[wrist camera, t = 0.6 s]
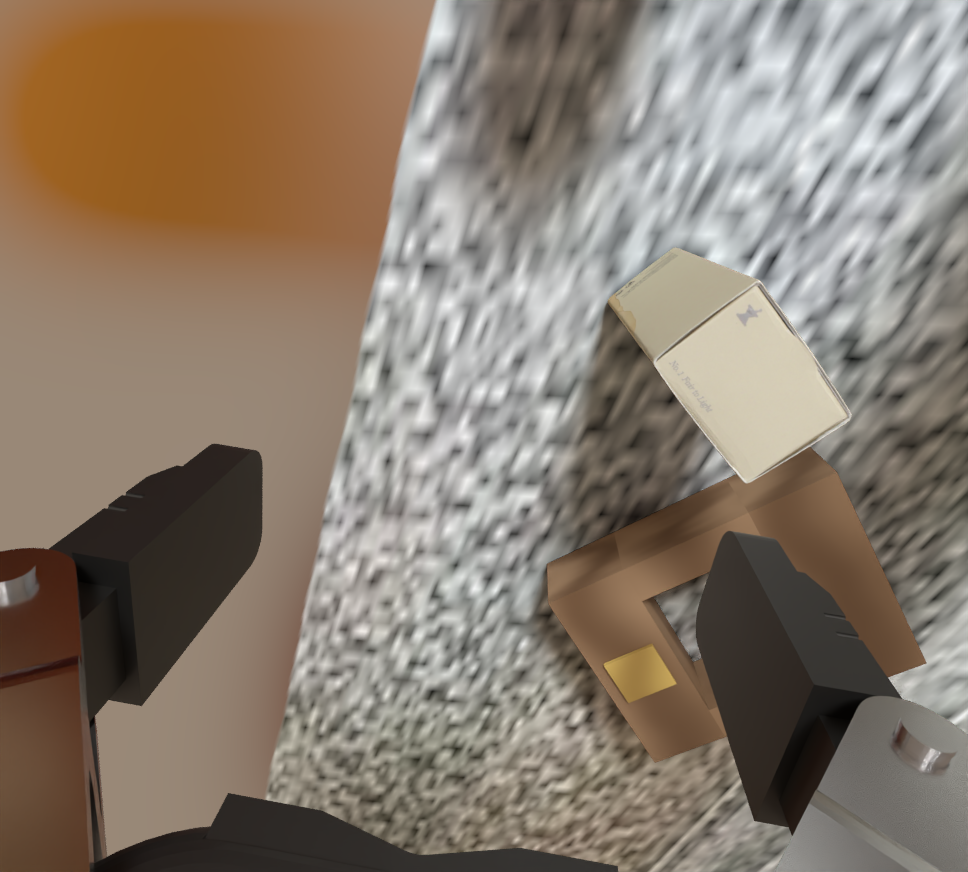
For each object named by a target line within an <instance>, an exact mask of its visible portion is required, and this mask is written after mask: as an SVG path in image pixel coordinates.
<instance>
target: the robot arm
mask: <svg viewBox="0 0 968 872" xmlns="http://www.w3.org/2000/svg"><path fill="white" fill-rule="evenodd" d="M261 536H262V459H261V455H260V453H259V452H258V451H256V450H250V449H244V448H238V447H232V446H226V445H220V444H211V445H210V446H208V447H207V448H206V449H204V450H203V451H202V452H200V453H199V454H198V455H197V456H195V457H194V458H193V459H191V460H190V461H189V462H188V463H186V464H185V465H184V466H174V467H172V468H169V469H166V470H164V471H161V472H158V473H156V474H153V475H150V476H148V477H146V478H145V479H144V480H142V481H141V482H139V483H138V484H137V485H135V486H134V487H132V488H131V489H130V490H128V491H127V492H126V495H125V496H123V495H122V496H120V497H119V498H117V499H116V500H115V501H113V502H112V503H111V504H109V507H108V509H105V508H104V509H102V510H101V511H100V512H98V513H97V514H96V515H94V516H93V517H92V518H90V519H89V520H87V521H86V522H85V523H83V524H82V525H81V526H79V527H78V528H77V529H75V530H74V531H72V532H71V533H70V534H68V535H67V536H66V537H64V538H63V539H61V540H60V541H59V542H57V543H56V544H55V545H53V546H52V547H51V548H49V549H44V548H20V549H11V550H6V551H0V872H618V866H614V865H608V864H603V863H598V862H592V861H587V860H582V859H576V858H571V857H566V856H560V855H555V854H550V853H544V852H539V851H534V850H528V849H523V848H514V849H500V850H487V851H473V852H460V853H447V854H433V855H417V854H412V853H409V852H407V851H404V850H402V849H400V848H398V847H396V846H394V845H392V844H390V843H388V842H386V841H384V840H382V839H380V838H377V837H375V836H373V835H371V834H369V833H367V832H365V831H363V830H361V829H359V828H357V827H355V826H353V825H351V824H349V823H346V822H344V821H342V820H340V819H338V818H336V817H334V816H332V815H330V814H328V813H326V812H324V811H321V810H315V809H310V808H305V807H299V806H294V805H289V804H283V803H278V802H273V801H267V800H262V799H257V798H251V797H246V796H241V795H235V794H230V793H228V795H227V797H226V798H225V800H224V803H223V804H222V806H221V808H220V810H219V812H218V814H217V816H216V818H215V819H214V821H213V823H212V825H211V827H199V828H193V829H188V830H183V831H177V832H172V833H169V834H165V835H162V836H158V837H155V838H152V839H148V840H145V841H143V842H140V843H138V844H135V845H133V846H130V847H128V848H125V849H123V850H120V851H118V852H116V853H114V854H112V855H110V856H108V857H107V850H106V849H107V848H106V837H105V825H104V812H103V799H102V787H101V775H100V763H99V762H100V761H99V750H98V737H97V726H96V719H95V715H96V714H97V713H98V712H99V710H100V709H101V708H102V707H103V706H104V704H105V703H106V702H107V701H108V700H112V701H117V702H123V703H128V704H134V705H140V706H142V705H143V704H144V702H145V701H146V700H147V699H148V697H149V696H150V695H151V693H152V692H153V691H154V689H155V688H156V687H157V686H158V684H159V683H160V682H161V680H162V679H163V678H164V677H165V675H166V674H167V673H168V671H169V670H170V669H171V667H172V666H173V665H174V664H175V663H176V661H177V660H178V659H179V657H180V656H181V655H182V654H183V652H184V651H185V650H186V648H187V647H188V646H189V644H190V643H191V642H192V641H193V639H194V638H195V637H196V635H197V634H198V633H199V632H200V630H201V629H202V628H203V626H204V625H205V624H206V623H207V621H208V620H209V619H210V617H211V616H212V615H213V614H214V612H215V611H216V610H217V608H218V607H219V606H220V605H221V603H222V602H223V601H224V599H225V598H226V597H227V596H228V594H229V593H230V592H231V590H232V589H233V588H234V587H235V585H236V584H237V583H238V581H239V580H240V579H241V578H242V576H243V575H244V574H245V572H246V571H247V570H248V569H249V567H250V566H251V564H252V563H253V561H254V559H255V557H256V555H257V552H258V549H259V546H260V542H261ZM858 637H859V635H858V633H857V632H856V631H855V629H854V628H853V626H852V625H851V623H850V622H849V621H846V616H845V614H844V613H843V611H842V610H841V609H840V607H839V606H838V604H837V603H836V601H835V600H834V598H833V597H832V595H831V594H830V593H829V592H827V591H826V590H825V589H824V588H823V587H821V586H820V585H819V584H818V583H817V582H815V581H814V580H813V579H812V578H810V577H809V576H808V575H807V574H806V573H803V572H797V570H796V569H795V567H794V566H793V564H792V563H791V561H790V559H789V558H788V556H787V555H786V553H785V552H784V550H783V548H782V547H781V545H780V544H779V542H778V541H777V540H776V539H775V538H770V537H764V536H758V535H752V534H746V533H740V532H734V531H727V532H726V533H725V534H724V535H723V536H722V538H721V540H720V543H719V545H718V548H717V552H716V555H715V558H714V561H713V564H712V567H711V570H710V573H709V576H708V579H707V582H706V585H705V588H704V591H703V594H702V598H701V601H700V604H699V607H698V612H697V618H696V638H697V644H698V647H699V650H700V653H701V656H702V659H703V663H704V666H705V669H706V672H707V675H708V678H709V681H710V684H711V687H712V691H713V694H714V697H715V700H716V703H717V706H718V709H719V712H720V715H721V719H722V722H723V725H724V728H725V731H726V734H727V737H728V740H729V743H730V747H731V750H732V753H733V756H734V759H735V762H736V765H737V768H738V771H739V775H740V778H741V781H742V784H743V787H744V790H745V793H746V796H747V799H748V803H749V806H750V809H751V812H752V815H753V818H754V821H757V822H763V823H768V824H774V825H779V826H784V827H789V829H790V831H791V834H792V838H791V840H790V842H789V844H788V846H787V848H786V850H785V852H784V854H783V856H782V858H781V860H780V862H779V864H778V866H777V868H776V870H775V872H968V735H967V734H966V733H965V732H964V731H962V730H961V729H960V728H958V727H957V726H956V725H954V724H953V723H951V722H950V721H948V720H947V719H946V718H944V717H942V716H940V715H939V714H937V713H935V712H933V711H931V710H929V709H927V708H925V707H923V706H921V705H918V704H916V703H913V702H910V701H907V700H904V699H902V698H901V696H900V695H899V693H898V692H897V690H896V689H895V688H894V686H893V685H892V683H891V682H890V680H889V679H888V677H887V676H886V674H885V673H884V671H883V670H882V669H881V667H880V666H879V664H878V663H877V661H876V660H875V658H874V657H873V655H872V654H871V652H870V651H869V650H868V648H867V647H866V645H865V644H864V642H863V641H862V640H859V639H858Z"/></svg>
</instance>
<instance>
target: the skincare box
mask: <svg viewBox="0 0 968 872" xmlns="http://www.w3.org/2000/svg"><path fill="white" fill-rule="evenodd" d="M608 304H609V305H610V307H611V308H612V309H613V310H614V312H615V313H616V315H617V316H618V317H619V319H620V320H621V322H622V323H623V324H624V326H625V327H626V328H627V330H628V331H629V332H630V334H631V335H632V336H633V338H634V339H635V340H636V342H637V343H638V345H639V346H640V347H641V349H642V350H643V351H644V353H645V354H646V355H647V357H648V358H649V359H650V361H651V362H652V363H653V365H654V367H655V368H656V370H657V371H658V373H659V374H660V376H661V377H662V378H663V380H664V381H665V383H666V384H667V386H668V387H669V388H670V390H671V391H672V393H673V394H674V395H675V397H676V398H677V399H678V401H679V402H680V403H681V405H682V406H683V407H684V409H685V410H686V411H687V413H688V414H689V415H690V417H691V418H692V419H693V420H694V422H695V423H696V424H697V426H698V427H699V428H700V429H701V431H702V432H703V433H704V435H705V436H706V437H707V438H708V440H709V441H710V442H711V443H712V445H713V446H714V447H715V448H716V450H717V451H718V452H719V453H720V455H721V456H722V457H723V458H724V459H725V461H726V462H727V463H728V464H729V466H730V467H731V468H732V469H733V470H734V472H735V473H736V474H737V475H738V476H739V478H740V479H741V480H742V481H743V482H744V483H746V484H747V483H750V482H752V481H754V480H755V479H757V478H759V477H760V476H762V475H764V474H765V473H767V472H769V471H770V470H772V469H774V468H775V467H777V466H779V465H780V464H782V463H783V462H785V461H787V460H788V459H790V458H792V457H793V456H795V455H797V454H798V453H800V452H801V451H803V450H805V449H806V448H808V447H810V446H811V445H813V444H814V443H816V442H818V441H819V440H821V439H822V438H824V437H825V436H827V435H828V434H830V433H832V432H833V431H835V430H837V429H838V428H840V427H841V426H843V425H844V424H846V423H847V422H849V421H850V419H851V416H852V414H851V412H850V410H849V409H848V407H847V406H846V404H845V402H844V401H843V399H842V398H841V396H840V394H839V393H838V391H837V390H836V388H835V387H834V385H833V384H832V382H831V381H830V379H829V378H828V376H827V375H826V373H825V371H824V370H823V368H822V367H821V365H820V364H819V362H818V361H817V359H816V358H815V356H814V355H813V353H812V352H811V350H810V349H809V348H808V346H807V345H806V343H805V342H804V341H803V339H802V338H801V336H800V335H799V334H798V332H797V331H796V329H795V328H794V326H793V325H792V324H791V322H790V321H789V319H788V318H787V317H786V315H785V314H784V312H783V311H782V310H781V308H780V307H779V306H778V304H777V303H776V301H775V300H774V299H773V297H772V296H771V295H770V294H769V292H768V291H767V289H766V288H765V286H764V285H763V283H762V282H761V281H760V280H757V279H755V278H752V277H750V276H747V275H744V274H742V273H739V272H737V271H734V270H732V269H729V268H727V267H724V266H722V265H719V264H716V263H714V262H711V261H709V260H707V259H704V258H702V257H699V256H696V255H694V254H691V253H689V252H686V251H684V250H681V249H679V248H673V249H671V250H670V251H669V252H667V253H666V254H665V255H663V256H662V257H661V258H659V259H658V260H657V261H655V262H654V263H653V264H651V265H650V266H649V267H647V268H646V269H645V270H644V271H642V272H641V273H640V274H638V275H637V276H636V277H635V278H633V279H632V280H631V281H630V282H628V283H627V284H626V285H625V286H623V287H622V288H621V289H620V290H619V291H617V292H616V293H615V294H614V295H613V296H611V297H610V298H609V299H608Z"/></svg>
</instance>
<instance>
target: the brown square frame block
mask: <svg viewBox="0 0 968 872" xmlns="http://www.w3.org/2000/svg"><path fill="white" fill-rule="evenodd" d="M727 531H734V532H740V533H746V534H752V535H758V536H764V537H770V538H775V539H776V540H777V541H778V542H779V544H780V545H781V547H782V548H783V550H784V552H785V553H786V555H787V556H788V558H789V559H790V561H791V563H792V564H793V566H794V567H795V569H796V570H797V572H803V573H806V574H807V575H808V576H809V577H810V578H812V579H813V580H814V581H815V582H817V583H818V584H819V585H820V586H821V587H823V588H824V589H825V590H826V591H827V592H829V593H830V594H831V595H832V597H833V598H834V600H835V601H836V603H837V604H838V606H839V607H840V609H841V610H842V611H843V613H844V614H845V616H846V621H849V622H850V623H851V625H852V626H853V628H854V629H855V631H856V632H857V633H858V635H859V637H858V639H859V640H862V641H863V642H864V644H865V645H866V647H867V648H868V650H869V651H870V652H871V654H872V655H873V657H874V658H875V660H876V661H877V663H878V664H879V666H880V667H881V669H882V670H883V671H884V673H885V674H886V676H887V677H890V676H893V675H896V674H899V673H901V672H904V671H907V670H909V669H912V668H915V667H918V666H920V665H923V664H926V661H925V659H924V657H923V655H922V652H921V650H920V648H919V646H918V644H917V642H916V640H915V638H914V635H913V633H912V631H911V629H910V627H909V625H908V623H907V620H906V618H905V616H904V614H903V612H902V610H901V608H900V606H899V603H898V601H897V599H896V597H895V595H894V593H893V591H892V589H891V586H890V584H889V582H888V580H887V578H886V576H885V574H884V571H883V569H882V567H881V565H880V563H879V561H878V559H877V557H876V554H875V552H874V550H873V548H872V546H871V544H870V542H869V539H868V537H867V535H866V533H865V531H864V529H863V527H862V525H861V522H860V520H859V518H858V516H857V514H856V512H855V510H854V507H853V505H852V503H851V501H850V499H849V497H848V495H847V493H846V490H845V488H844V486H843V484H842V482H841V480H840V478H839V475H838V473H837V472H836V471H835V470H834V469H833V468H832V467H831V466H830V465H829V464H828V463H827V462H825V461H824V460H823V459H822V458H821V457H820V456H819V455H818V454H817V453H816V452H815V451H814V450H813V449H812V448H811V447H808V448H806V449H805V450H803V451H801V452H800V453H798V454H797V455H795V456H793V457H792V458H790V459H788V460H787V461H785V462H783V463H782V464H780V465H779V466H777V467H775V468H774V469H772V470H770V471H769V472H767V473H765V474H764V475H762V476H760V477H759V478H757V479H755V480H754V481H752V482H750V483H747V484H746V483H744V482H743V481H742V480H741V479H740V478H739V476H738V475H737V474H736V475H734V476H731V477H729V478H727V479H725V480H723V481H721V482H719V483H717V484H715V485H712V486H710V487H708V488H706V489H704V490H702V491H700V492H698V493H696V494H693V495H691V496H689V497H687V498H685V499H683V500H681V501H679V502H677V503H675V504H672V505H670V506H668V507H666V508H664V509H662V510H660V511H658V512H656V513H653V514H651V515H649V516H647V517H645V518H643V519H641V520H639V521H637V522H634V523H632V524H630V525H628V526H626V527H624V528H622V529H620V530H618V531H615V532H613V533H611V534H609V535H607V536H605V537H603V538H601V539H599V540H596V541H594V542H592V543H590V544H588V545H586V546H584V547H582V548H580V549H577V550H575V551H573V552H571V553H569V554H567V555H565V556H563V557H561V558H558V559H556V560H554V561H552V562H550V563H548V564H547V576H548V604H549V606H550V607H551V609H552V610H553V612H554V613H555V615H556V616H557V618H558V619H559V621H560V622H561V624H562V625H563V627H564V628H565V630H566V631H567V632H568V634H569V635H570V637H571V638H572V640H573V641H574V643H575V644H576V646H577V647H578V649H579V650H580V652H581V653H582V655H583V656H584V658H585V659H586V661H587V662H588V664H589V665H590V667H591V668H592V670H593V671H594V673H595V674H596V676H597V677H598V679H599V680H600V682H601V683H602V685H603V686H604V688H605V689H606V691H607V692H608V694H609V695H610V696H611V698H612V699H613V701H614V702H615V704H616V705H617V707H618V708H619V710H620V711H621V713H622V714H623V716H624V717H625V719H626V720H627V722H628V723H629V725H630V726H631V728H632V729H633V731H634V732H635V734H636V735H637V737H638V738H639V740H640V741H641V743H642V744H643V746H644V747H645V749H646V750H647V752H648V753H649V755H650V756H651V758H652V759H653V760H654V762H658V761H661V760H664V759H666V758H669V757H672V756H674V755H677V754H680V753H683V752H685V751H688V750H691V749H694V748H696V747H699V746H702V745H705V744H707V743H710V742H713V741H715V740H718V739H721V738H724V737H726V736H727V734H726V731H725V728H724V725H723V722H722V719H721V715H720V712H719V709H718V706H717V703H716V700H715V697H714V694H713V691H712V687H711V684H710V681H709V678H708V675H707V672H706V669H705V666H704V663H703V659H700V660H697V661H695V662H693V661H692V660H691V658H690V656H689V655H688V653H687V651H686V650H685V648H684V646H683V645H682V643H681V642H680V640H679V638H678V637H677V635H676V633H675V632H674V630H673V628H672V627H671V625H670V623H669V622H668V620H667V619H666V617H665V615H664V614H663V612H662V610H661V609H660V607H659V605H658V604H657V602H656V600H655V599H654V597H653V596H655V595H658V594H660V593H662V592H664V591H667V590H669V589H671V588H674V587H676V586H678V585H680V584H683V583H685V582H687V581H689V580H692V579H694V578H696V577H699V576H701V575H703V574H705V573H708V572H710V570H711V567H712V564H713V561H714V558H715V555H716V552H717V548H718V545H719V543H720V540H721V538H722V536H723V535H724V534H725V533H726V532H727Z"/></svg>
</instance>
